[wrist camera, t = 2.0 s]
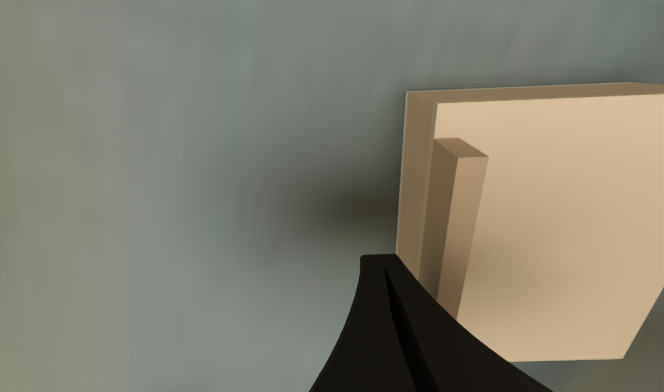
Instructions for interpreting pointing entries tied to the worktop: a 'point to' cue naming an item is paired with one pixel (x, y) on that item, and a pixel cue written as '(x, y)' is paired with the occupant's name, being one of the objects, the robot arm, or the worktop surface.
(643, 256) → the lid
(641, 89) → the base
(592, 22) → the worktop surface
